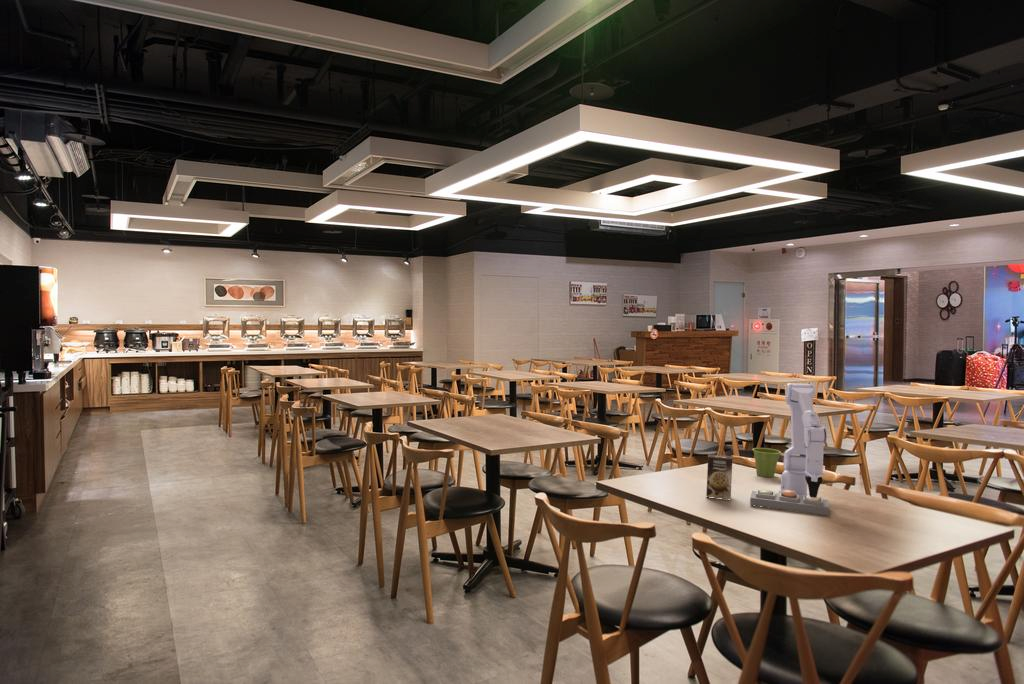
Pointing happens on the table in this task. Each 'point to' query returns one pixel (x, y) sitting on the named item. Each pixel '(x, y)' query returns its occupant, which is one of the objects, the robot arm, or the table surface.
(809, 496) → the cream button
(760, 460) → the plant pot
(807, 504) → the button panel
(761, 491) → the sage button
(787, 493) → the terracotta button
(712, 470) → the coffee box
